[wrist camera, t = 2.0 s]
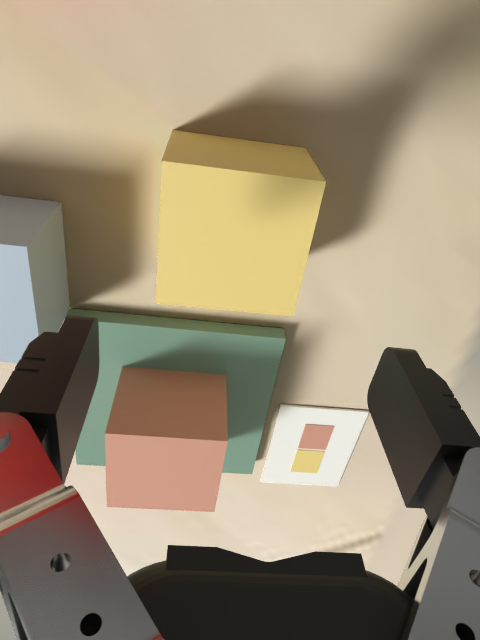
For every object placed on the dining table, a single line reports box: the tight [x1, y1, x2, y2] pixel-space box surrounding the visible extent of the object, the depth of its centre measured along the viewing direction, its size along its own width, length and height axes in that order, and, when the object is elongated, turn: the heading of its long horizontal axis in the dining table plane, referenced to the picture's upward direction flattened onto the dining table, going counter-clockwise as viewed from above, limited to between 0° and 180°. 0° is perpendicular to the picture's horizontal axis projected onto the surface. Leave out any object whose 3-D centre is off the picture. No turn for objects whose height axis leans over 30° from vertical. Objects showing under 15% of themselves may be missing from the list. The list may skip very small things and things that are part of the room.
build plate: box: [65, 308, 286, 474], centre depth 29 cm, size 12×12×1 cm
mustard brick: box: [156, 130, 326, 316], centre depth 20 cm, size 6×6×5 cm
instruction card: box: [260, 404, 369, 486], centre depth 32 cm, size 8×6×1 cm
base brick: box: [105, 366, 228, 512], centre depth 26 cm, size 6×6×5 cm
